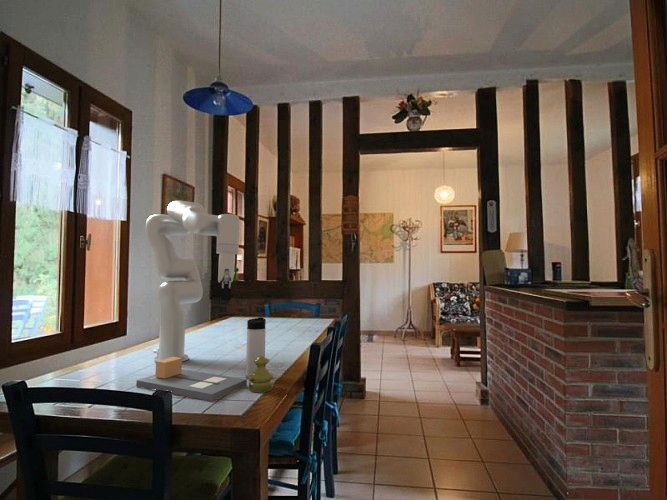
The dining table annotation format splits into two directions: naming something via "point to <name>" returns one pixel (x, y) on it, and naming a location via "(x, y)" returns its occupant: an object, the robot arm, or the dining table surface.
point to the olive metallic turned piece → (261, 376)
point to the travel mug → (255, 342)
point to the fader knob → (168, 367)
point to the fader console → (195, 384)
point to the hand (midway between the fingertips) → (226, 298)
